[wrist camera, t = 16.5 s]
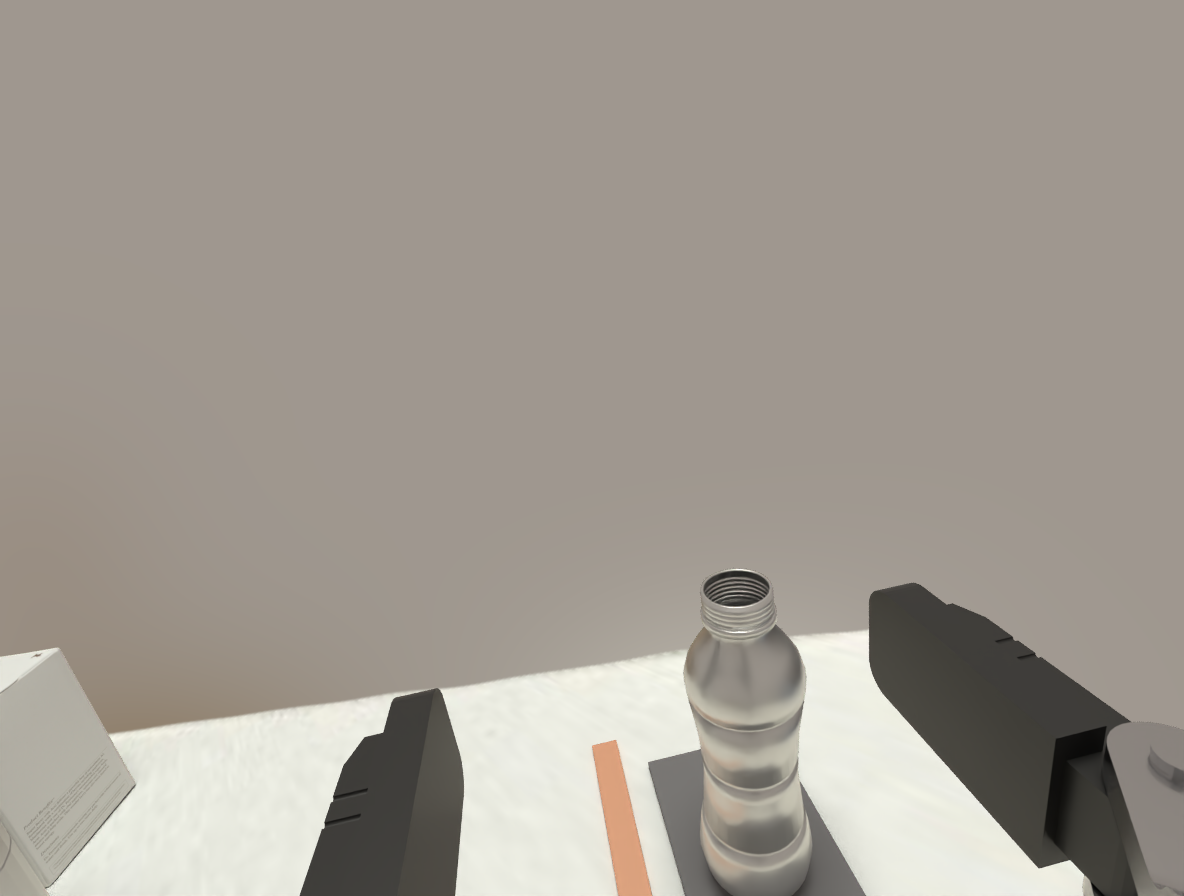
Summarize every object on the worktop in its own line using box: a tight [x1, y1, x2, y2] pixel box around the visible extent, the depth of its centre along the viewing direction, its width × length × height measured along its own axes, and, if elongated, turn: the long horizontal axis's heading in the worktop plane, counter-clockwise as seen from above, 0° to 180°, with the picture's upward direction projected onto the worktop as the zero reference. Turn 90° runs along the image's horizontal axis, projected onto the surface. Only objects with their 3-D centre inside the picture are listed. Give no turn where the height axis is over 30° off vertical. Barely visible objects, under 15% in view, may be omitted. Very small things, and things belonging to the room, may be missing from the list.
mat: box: [648, 749, 866, 896], centre depth 35 cm, size 10×18×1 cm, turn 8°
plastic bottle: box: [683, 569, 812, 896], centre depth 32 cm, size 6×7×20 cm
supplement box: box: [0, 648, 135, 887], centre depth 44 cm, size 9×9×15 cm
